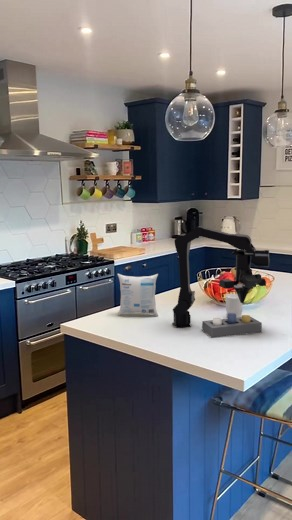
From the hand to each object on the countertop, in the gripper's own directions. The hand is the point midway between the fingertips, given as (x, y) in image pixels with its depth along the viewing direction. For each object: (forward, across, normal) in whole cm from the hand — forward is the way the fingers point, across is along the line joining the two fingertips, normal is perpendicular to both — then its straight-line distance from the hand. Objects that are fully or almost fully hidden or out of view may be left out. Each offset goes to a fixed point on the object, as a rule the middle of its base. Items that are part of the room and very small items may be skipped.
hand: (242, 302), depth 188 cm
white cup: (+12, +6, +18) cm, 22 cm away
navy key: (+8, -5, 0) cm, 10 cm away
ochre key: (+10, +2, 0) cm, 10 cm away
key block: (+12, -4, 0) cm, 13 cm away
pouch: (+12, -35, +35) cm, 51 cm away
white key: (+10, -11, 0) cm, 15 cm away
